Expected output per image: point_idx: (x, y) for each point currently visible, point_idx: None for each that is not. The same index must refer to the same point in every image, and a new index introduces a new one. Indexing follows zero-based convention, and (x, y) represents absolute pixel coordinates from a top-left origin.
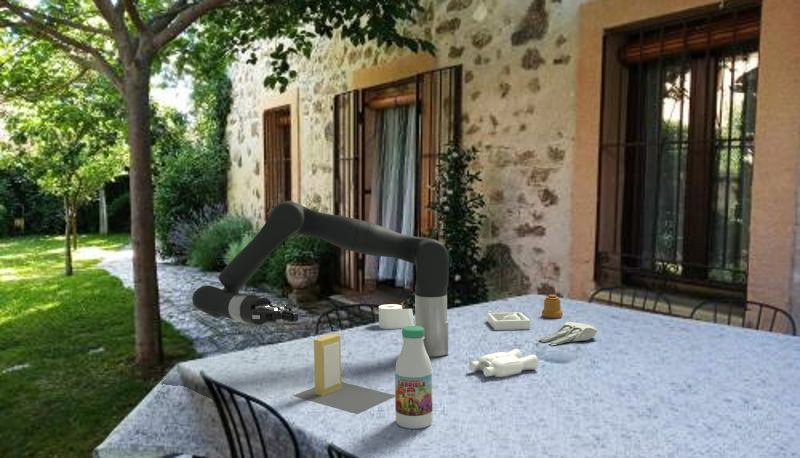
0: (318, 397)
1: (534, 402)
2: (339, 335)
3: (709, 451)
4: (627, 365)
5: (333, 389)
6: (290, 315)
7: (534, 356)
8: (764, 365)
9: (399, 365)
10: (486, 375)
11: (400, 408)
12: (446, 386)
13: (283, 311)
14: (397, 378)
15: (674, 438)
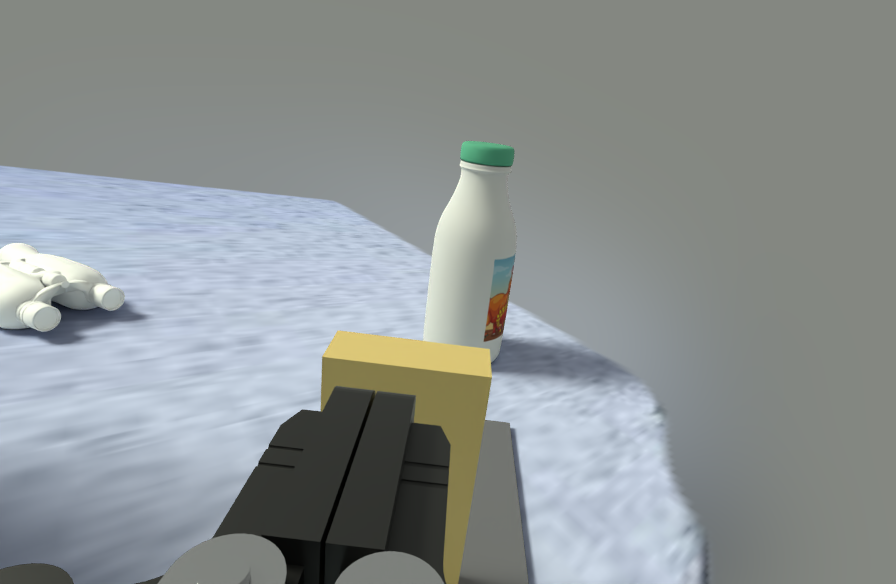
0: (478, 578)
1: (267, 272)
2: (343, 331)
3: (363, 217)
4: (11, 220)
5: None
6: (442, 433)
7: (25, 244)
8: (35, 176)
9: (515, 233)
10: (110, 308)
11: (504, 321)
12: (195, 354)
13: (367, 567)
14: (512, 264)
15: (343, 223)
